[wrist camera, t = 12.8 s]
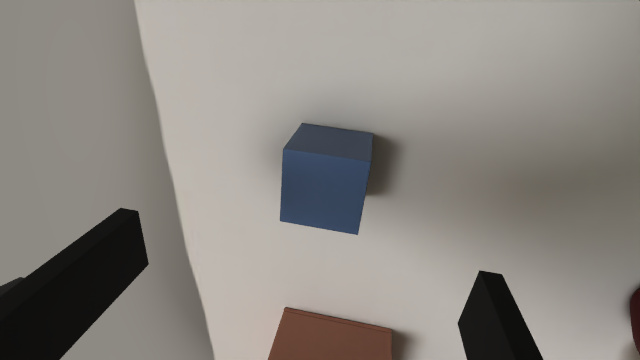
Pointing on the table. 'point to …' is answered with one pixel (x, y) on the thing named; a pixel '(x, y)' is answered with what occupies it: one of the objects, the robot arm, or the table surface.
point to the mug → (635, 318)
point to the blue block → (325, 177)
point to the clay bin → (328, 339)
